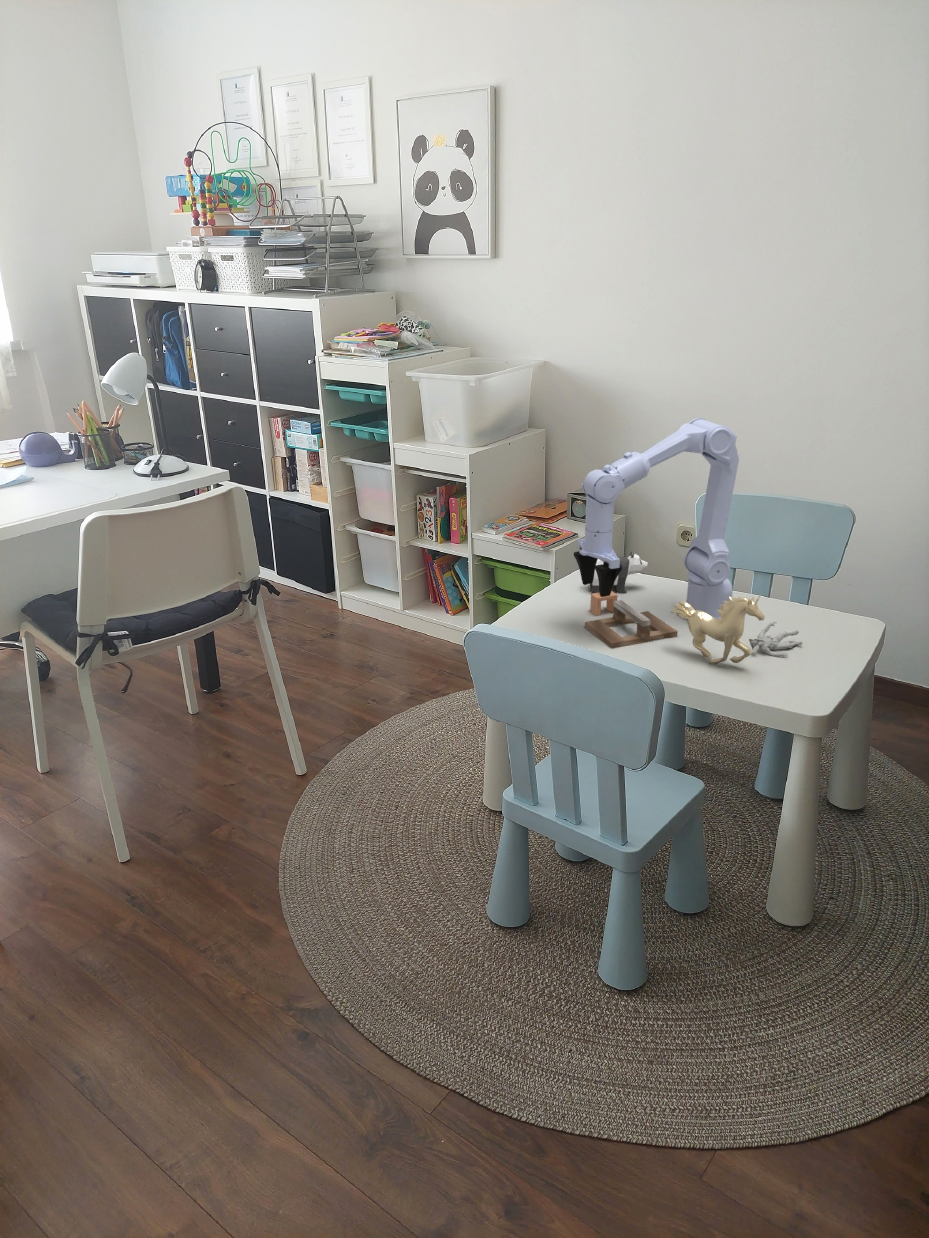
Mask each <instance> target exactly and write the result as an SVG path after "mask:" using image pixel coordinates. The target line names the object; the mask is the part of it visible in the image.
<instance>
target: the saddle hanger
mask: <svg viewBox="0 0 929 1238" xmlns="http://www.w3.org/2000/svg"><path fill="white" fill-rule="evenodd" d="M618 596H619V595H618V593H615V592H614V591H613V590H612V591H611V594H610V596H605V597H601V596H600V593H590V608H589V610H590V611H589V612H590V613H592V614H593V615H595V616H596V617H597V616H598V617H599V616H601V612H602V610H601V609H602V608H601V607H602V602H604V601H606V603H605V604H606V607H605V608H606V610H608V611H609V612H610V613H611V614H613V607H614V601H618Z"/></svg>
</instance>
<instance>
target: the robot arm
mask: <svg viewBox="0 0 929 1238" xmlns="http://www.w3.org/2000/svg"><path fill="white" fill-rule="evenodd" d="M737 437H738V436H737V435H736V434H735V433H734V432H733V431H732V430H731V429H730V428H729V427H728V426H725V425H722V424H718V423H715V422H712V421H709V420H706V419H705V418H702V417H697V418H694V419H691V421H689V422H686V423H683V424H682V425H681V426H679V429H678V430H676V431H675V432H673V433H672V434H670V435H668V436H667V437H665V438H664V439H662V440H660V441H659V442H657V443H656V444H654V445H653V446H651V447H650V448H648V449H646V450H645V451H644V452H642V453H639V452H637V451H632V452H630V451H627V452H625V453H623V454H622V455H623V457H621V458H620V459H618V460H616V461H614V462H612V463H611V464H608V463H607V464H606V465H604V466H603V468H602V469H594V470H591V471H589V472H588V473H587V475H586V476H585V478H584V480H583V482H581V489H582V492H583V493H584V494H585V496H586V499H585V500H586V501H585V519H584V521H585V523H584V524H585V525H584V538H580V539H578V538H577V543H576V545H577V547H576V548H577V549H579V551H575V552H573V557H574V559H575V561H576V564H577V566H578V569H579V573H580V578H581V583H582V584H583V585H584V586H585V585H590V584H592V583H593V579H594V572H595V570H596V572H597V575H598V580H599V593H600V596H601V597H605V596H610V594H611V591H612V592H613V588H614V582H615V580H616V578H617V576H618V574H619V573H620V572H621V570H622V565H620V559H619V558H618V557H619V556H618V557H617V554H616V553H615V550H614V548H613V533H614V529H613V528H614V518H615V517H614V514H615V511H614V510H615V501H616V500H617V499H618V497H619V496H620V494H621V492H622V491H624V490H625V489H627V488H628V487H630V486H632V485H633V484H636V483H637V482H640V481H641V480H643V479H644V478H646V477H648V475H649V473H650V472H649V471H650V470H651V468H653V467H655V466H657V465H659V464H661V463H663V462H666V461H667V460H670V459H671V458H673V457H675V456H677V455H679V454H681V453H683V452H686V453H694V454H701V455H702V457H704V459H705V460H706V462H707V463H709V465H710V468H709V472H708V480H707V485H706V492H705V497H704V502H703V508H702V514H701V517H700V518H701V520H700V524H699V530H698V535H696V536H695V537H694V538H693V539H691V540H690V545H689V548H688V550H687V551H686V552H685V555H684V559H683V564H684V567H685V568H686V569H687V570H688V572H687V576H688V580H687V581H688V582H687V584H688V585H687V592H686V601H685V602H687V603H689V604H690V605H691V606H692V607H693V608H694V609H695V610H700V611H704V612H706V613H708V614H709V615H710V616H712V617H714V618H721V617H720V615H719V614H718V613H719V612H718V611H717V610H719V609H722V608H721V607H720V605H722V604H724V603H723V601H730V598H729V596H730V597H732V598H733V595H734V594H733V592H734V591H733V585H732V582H731V581H730V579H728V577H729V574H730V572H731V564H730V561H729V559H730V549H729V548H728V546H727V544H726V541H725V537H726V531H727V526H728V519H729V514H730V510H731V505H732V504H731V503H732V499H733V494H734V490H735V489H734V488H735V484H736V477H737V472H738V467H739V461H740V458H739V454H738V449H737V445H736V441H737ZM598 559H599V560H601V561H603V564H602V565H596V563H597V560H598Z"/></svg>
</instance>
